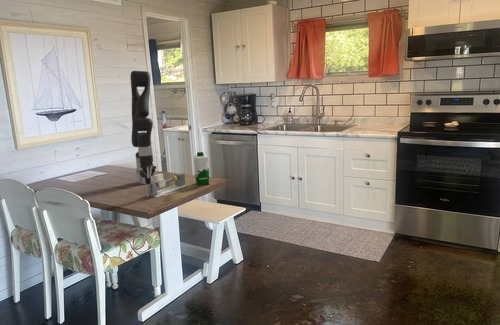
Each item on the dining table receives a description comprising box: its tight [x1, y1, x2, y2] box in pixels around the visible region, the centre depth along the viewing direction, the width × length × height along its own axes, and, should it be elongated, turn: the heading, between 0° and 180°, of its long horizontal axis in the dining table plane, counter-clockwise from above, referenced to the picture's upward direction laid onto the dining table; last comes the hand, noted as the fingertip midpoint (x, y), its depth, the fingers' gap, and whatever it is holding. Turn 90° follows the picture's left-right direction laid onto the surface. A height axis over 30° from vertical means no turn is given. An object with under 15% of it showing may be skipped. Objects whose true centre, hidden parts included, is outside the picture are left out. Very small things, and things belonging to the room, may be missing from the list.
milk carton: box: [193, 151, 210, 186], centre depth 247 cm, size 9×9×20 cm
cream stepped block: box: [152, 173, 167, 190], centre depth 229 cm, size 5×5×8 cm
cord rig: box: [146, 172, 187, 198], centre depth 235 cm, size 27×8×8 cm, turn 150°
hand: (148, 184), depth 222 cm, fingers closed
